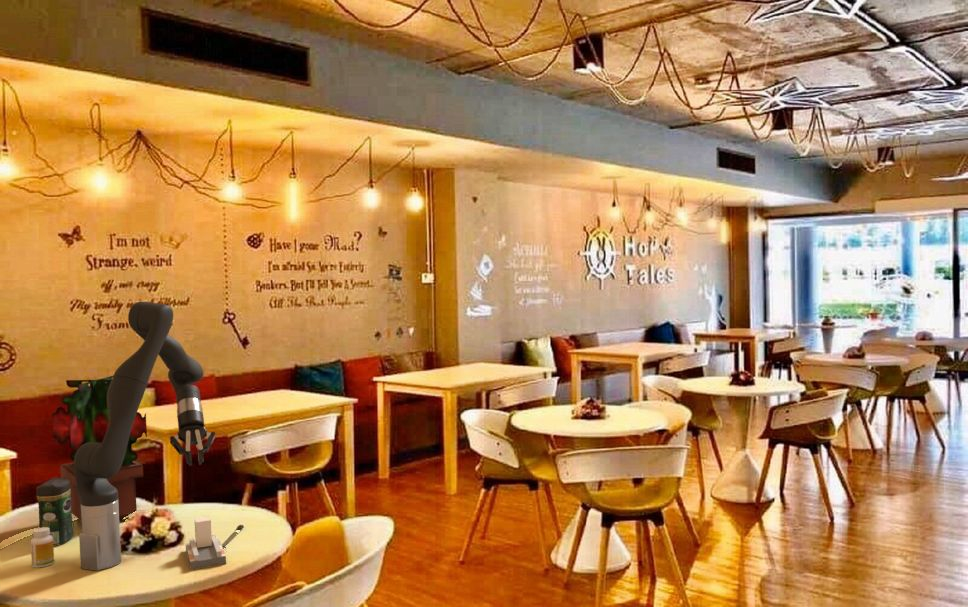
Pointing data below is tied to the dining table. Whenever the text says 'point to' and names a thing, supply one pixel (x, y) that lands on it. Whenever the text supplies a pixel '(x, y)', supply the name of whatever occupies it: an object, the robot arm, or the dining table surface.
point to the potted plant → (96, 439)
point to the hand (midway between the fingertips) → (195, 463)
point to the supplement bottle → (42, 548)
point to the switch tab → (203, 532)
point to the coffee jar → (56, 509)
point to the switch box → (205, 554)
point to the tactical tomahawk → (232, 536)
